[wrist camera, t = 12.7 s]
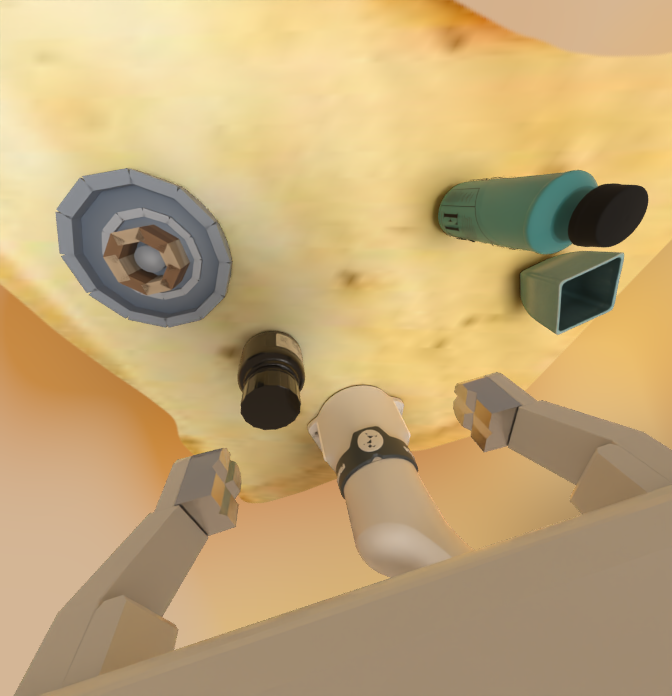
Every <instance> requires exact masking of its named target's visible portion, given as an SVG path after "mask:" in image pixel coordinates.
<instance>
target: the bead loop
mask: <svg viewBox="0 0 672 696" xmlns="http://www.w3.org/2000/svg"><path fill="white" fill-rule="evenodd" d="M139 241H141V242H143V243H145V244H147V245H148V246H150V247H152V248H154V249H156V250H158V251H159V252H160V254H161V256H162V258H163V260H164V262H165V264H166V266H167V268H166V271H165V273H164V275H159V276H158V275H156V274H154V273H152V272H147V271H145V270H143V269H142V268H140V267H139V266H138V264H137V263H136V261H135V258H134V253H135V251H136V248H137V245H138V243H139ZM103 258H104V260H105V261H106V263H107V264H108V266H109V268H110V269H111V271H112V272H113V274H114V276H115V277H116V279H117V280H118V282H119V283H121V284H123V285H125V286H127V287H129V288H132V289H134V290H136V291H138V292H140V293H143V294H145V295H151V294H156V293H160V292H165V291H169V290H172V289H173V288H174V287H176V286H177V285H178V284H179V283H180V282H181V281H182V280H183V277H184V275H185V273H186V271H187V268H188V266H189V264H190V261H189V259H188V257H187V255H186V253H185V250H184V248H183V246H182V244H181V242H180V239H179V238H177V237H175V236H173V235H171V234H170V233H168V232H166V231H164V230H163V229H161V228H159V227H157V226H155V225H148V226H143V227H138V228H133V229H128V230H123V231H118V232H113V233H111V234H110V237H109V240H108V243H107V246H106V249H105V252H104V255H103Z"/></svg>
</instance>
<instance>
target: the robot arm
mask: <svg viewBox="0 0 672 696" xmlns="http://www.w3.org/2000/svg"><path fill="white" fill-rule="evenodd" d="M454 392H455V393H456V395H457V398H456V399H455V400H454V402H453V409H454V413H455V416H456V418H457V420H458V421H459V423H460V424H461V425H462V426H463V427H464V428H467V429H469V430H471V437H472V439H473V440H474V441H475V442H476V443H477V445H478V446H479V447H480V448H481V449H482V451H483V452H487V451H490V450H494V449H498V448H502V447H505V446H508V448H510V449H512V450H514V451H515V452H517V453H519V454H521V455H523V456H524V457H526V458H528V459H530V460H532V461H533V462H535V463H537V464H539V465H541V466H542V467H544V468H546V469H548V470H550V471H552V472H553V473H555V474H557V475H559V476H560V477H562V478H564V479H566V480H568V481H570V482H571V483H573V484H575V485H576V486H575V488H574V490H573V492H572V494H571V495H570V502H571V503H572V504H573V505H574V506H575V507H576V508H577V509H578V510H579V512H580V513H582V514H581V515H578V516H575V517H573V518H569V519H567V520H563V521H561V522H557V523H555V524H552V525H549V526H545V527H543V528H539V529H536V530H533V531H530V532H528V533H525V534H521V535H519V536H515V537H513V538H509V539H506V540H504V541H501V542H497V543H494V544H491V545H489V546H485V547H483V548H479V549H477V550H473V549H472V548H471V547H470V546H469V545H468V544H467V543H465V542H464V541H463V540H462V539H461V538H460V536H459V535H458V534H457V533H456V532H455V531H454V530H453V529H452V528H451V526H450V525H449V524H448V523H447V521H446V520H445V518H444V517H443V516H442V514H441V512H440V511H439V509H438V508H437V506H436V504H435V503H434V501H433V499H432V498H431V496H430V494H429V492H428V491H427V489H426V487H425V485H424V484H423V482H422V480H421V478H420V476H419V474H418V467H417V464H416V462H415V458H414V456H413V454H412V453H411V451H410V450H409V448H408V443H409V438H410V432H409V430H408V428H407V426H406V424H405V422H404V420H403V418H402V413H403V408H404V404H403V402H402V400H401V399H399V398H395V397H390V396H389V395H387V394H386V393H385V392H384V391H382V390H381V389H379V388H376V387H373V386H365V385H362V386H354V387H350V388H346V389H344V390H342V391H340V392H338V393H336V394H335V395H333V396H332V397H331V398H329V399H328V400H327V401H326V403H325V404H324V405H323V407H322V408H321V410H320V412H319V414H318V416H317V417H316V418H315V419H314V420H312V421H311V422H310V423H309V424H308V426H307V428H308V432H309V434H310V435H311V437H312V438H313V440H314V441H315V442H316V444H317V445H318V447H319V448H320V450H321V451H322V453H323V457H324V460H325V461H326V462H328V464H329V466H330V467H331V468H332V469H333V470H334V472H335V473H336V475H337V482H338V486H339V489H340V491H341V495H342V497H343V498H344V499H345V500H346V505H347V509H348V514H349V518H350V522H351V526H352V531H353V536H354V540H355V544H356V548H357V550H358V552H359V554H360V556H361V557H362V559H363V560H364V561H365V562H366V564H367V565H369V566H370V567H371V568H372V569H374V570H375V571H377V572H378V573H380V574H383V575H385V576H388V577H391V578H389V579H386V580H383V581H380V582H377V583H374V584H371V585H368V586H365V587H362V588H359V589H356V590H354V591H350V592H347V593H344V594H341V595H338V596H335V597H332V598H329V599H326V600H323V601H320V602H317V603H314V604H311V605H308V606H305V607H302V608H299V609H296V610H293V611H291V612H287V613H284V614H281V615H278V616H275V617H272V618H269V619H267V620H263V621H260V622H257V623H255V624H251V625H248V626H246V627H242V628H239V629H236V630H233V631H230V632H227V633H225V634H221V635H219V636H215V637H212V638H209V639H206V640H204V641H200V642H197V643H195V644H191V645H188V646H185V647H182V648H179V649H176V650H174V647H175V643H176V638H177V634H178V629H177V627H176V625H175V624H173V623H171V622H170V621H168V620H166V619H164V618H163V617H162V616H163V615H164V613H165V611H166V609H167V608H168V606H169V604H170V603H171V601H172V599H173V597H174V596H175V594H176V592H177V591H178V589H179V587H180V585H181V584H182V582H183V580H184V579H185V577H186V575H187V573H188V572H189V570H190V568H191V567H192V565H193V563H194V561H195V560H196V558H197V556H198V555H199V553H200V551H201V549H202V548H203V546H204V544H205V543H206V541H207V539H208V536H210V535H212V534H216V533H218V532H222V531H225V530H228V529H231V528H234V527H236V521H237V513H238V504H237V502H236V501H235V498H236V497H237V495H238V494H239V492H240V489H241V475H240V471H239V467H238V466H237V464H236V462H233V461H231V460H230V455H231V454H230V452H229V451H228V450H227V448H221V449H217V450H213V451H209V452H205V453H201V454H197V455H193V456H190V457H186V458H182V459H178V460H177V461H176V462H175V463H174V464H173V466H172V469H171V471H170V473H169V476H168V479H167V481H166V484H165V486H164V489H163V491H162V494H161V496H160V499H159V501H158V504H157V506H156V509H155V511H154V512H153V513H150V514H148V515H147V516H146V517H145V519H144V520H143V521H142V522H141V523H140V524H139V525H138V526H137V527H136V529H134V531H133V532H132V533H131V534H130V535H129V536H128V537H127V538H126V539H125V540H124V541H123V542H122V544H121V545H120V546H119V547H118V548H117V549H116V550H115V551H114V552H113V553H112V554H111V556H110V557H109V558H108V559H107V560H106V561H105V562H104V563H103V564H102V565H101V567H100V568H99V569H98V570H97V571H96V572H95V573H94V574H93V575H92V576H91V577H90V578H89V580H88V581H87V582H86V583H85V584H84V585H83V586H82V587H81V589H80V590H78V592H77V593H76V594H75V595H74V596H73V597H72V598H71V599H70V600H69V601H68V602H67V604H66V605H65V606H64V607H63V608H62V609H61V610H60V611H59V612H58V614H57V615H56V617H55V619H54V621H53V623H52V625H51V627H50V628H49V630H48V632H47V634H46V636H45V638H44V640H43V642H42V644H41V645H40V647H39V649H38V651H37V653H36V655H35V657H34V659H33V660H32V662H31V664H30V666H29V668H28V670H27V672H26V674H25V675H24V677H23V679H22V681H21V683H20V685H19V687H18V689H17V690H16V693H15V694H14V696H672V450H671V449H669V448H667V447H666V446H664V445H663V444H661V443H660V442H658V441H657V440H655V439H653V438H652V437H650V436H649V435H647V434H645V433H644V432H641V431H638V430H635V429H632V428H628V427H626V426H622V425H619V424H616V423H613V422H609V421H607V420H603V419H600V418H597V417H594V416H590V415H587V414H584V413H581V412H578V411H575V410H572V409H568V408H565V407H562V406H559V405H556V404H552V403H549V402H546V401H543V400H541V401H537V400H535V399H534V398H533V397H531V396H530V395H529V394H528V393H526V392H525V391H524V390H522V389H521V388H520V387H518V386H517V385H516V384H515V383H513V382H512V381H511V380H509V379H508V378H507V377H505V376H504V375H503V374H501V373H498V372H496V373H492V374H489V375H485V376H483V377H478V378H475V379H471V380H468V381H464V382H461V383H457V384H456V386H455V391H454Z"/></svg>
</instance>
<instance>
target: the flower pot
mask: <svg viewBox="0 0 672 696" xmlns="http://www.w3.org/2000/svg"><path fill="white" fill-rule="evenodd" d="M623 261H624V253H617V252H595V251H579V252H571V253H566V254H562V255H558V256H555V257H552V258H549V259H547V260H545V261H543V262H540V263H538V264H536V265H534V266H532V267H530V268H528V269H526V270H524V271H522V272H521V273H520V296H521V300H522V303H523V305H524V307H525V309H526V311H527V312H528V313H529V315H530V316H531V317H532V318H534V319H535V320H536V321H538V322H539V323H540V324H542V325H543V326H545V327H546V328H548V329H549V330H551V331H552V332H554V333H555V334H557V335H559V334H561V333H563V332H566V331H568V330H570V329H572V328H574V327H576V326H579V325H581V324H583V323H585V322H588V321H589V320H592V319H594V318H596V317H598V316H600V315H603V314H605V313H607V312H609V311H610V310H612V309H613V307H614V304H615V299H616V294H617V288H618V283H619V279H620V274H621V271H622V265H623Z"/></svg>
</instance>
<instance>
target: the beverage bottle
mask: <svg viewBox="0 0 672 696" xmlns="http://www.w3.org/2000/svg"><path fill="white" fill-rule="evenodd" d="M511 177H512V176H511ZM494 178H496V179H494ZM494 178H493V179H492V178H491V180H490V179H489V180H487V178H486V180H482V179H481V180H480V181H478V180H479V179H478V180H477V179H476V180H477V181H474V180H473V181H471V182H464V183H460V184H458V185H456V186H455V187H453V188H452V189H451V190H450V191H449V192H448V193H447V194H446V195H445V197H444V198H443V200H442V202H441V204H440V208H439V212H438V220H439V224H440V227H441V228H442V230H443V232H444V233H447V234H448V235H450V236H449V237H451V236H453V237H456V238H457V237H458V238H457V239H460V238H461V239H462V240H466V239H468V240H470V241H472V242H475V241H479V242H484V243H485V244H486V243H489V244H492V245H493V244H494V245H498V246H500V247H502V246H505V247H510V248H512V250H513V248H515V249H514V250H516V249H522V250H528V251H533V252H536V253H539V254H552V253H556V252H559V251H561V250H563V249H565V248H566V247H568V246H569V245H571V244H572V243H573V244H574V245H577V246H583V247H590V246H592V247H611V246H614V245H616V244H618V243H620V242H622V241H623V240H625V239H626V238H627V237H628V236H629V235H630V234H631V233H632V232H633V231H634V230H635V229H636V228H637V227H638V225H639V224H640V222H641V220H642V219H643V217H644V215H645V212H646V209H647V206H648V194H647V191H646V190H645V189H644V188H643V187H641V186H638V185H621V184H604V185H600V186H598V185H597V183H596V181H595V179H594V177H593V176H592V175H591V174H589V173H587V172H585V171H582V170H574V171H568V172H565V173H555V174H546V175H536V176H526V177H517V178H502V177H501V178H500V177H498V178H500V179H497V177H494ZM466 181H467V180H466ZM447 234H446V235H447ZM463 238H464V239H463ZM505 247H504V248H505ZM510 248H509V249H510ZM507 249H508V248H507Z"/></svg>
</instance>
